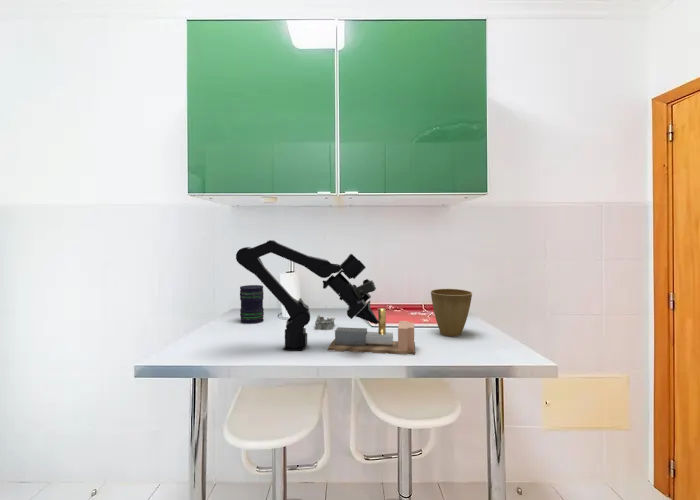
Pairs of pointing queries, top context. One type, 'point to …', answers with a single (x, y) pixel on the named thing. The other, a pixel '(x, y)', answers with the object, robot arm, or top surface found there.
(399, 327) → the terracotta socket
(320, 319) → the grey castle model
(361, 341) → the grey rectangular block
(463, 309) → the plant pot
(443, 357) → the top surface
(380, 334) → the sliding bolt with handle
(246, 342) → the top surface
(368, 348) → the walnut board
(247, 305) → the storage jar
